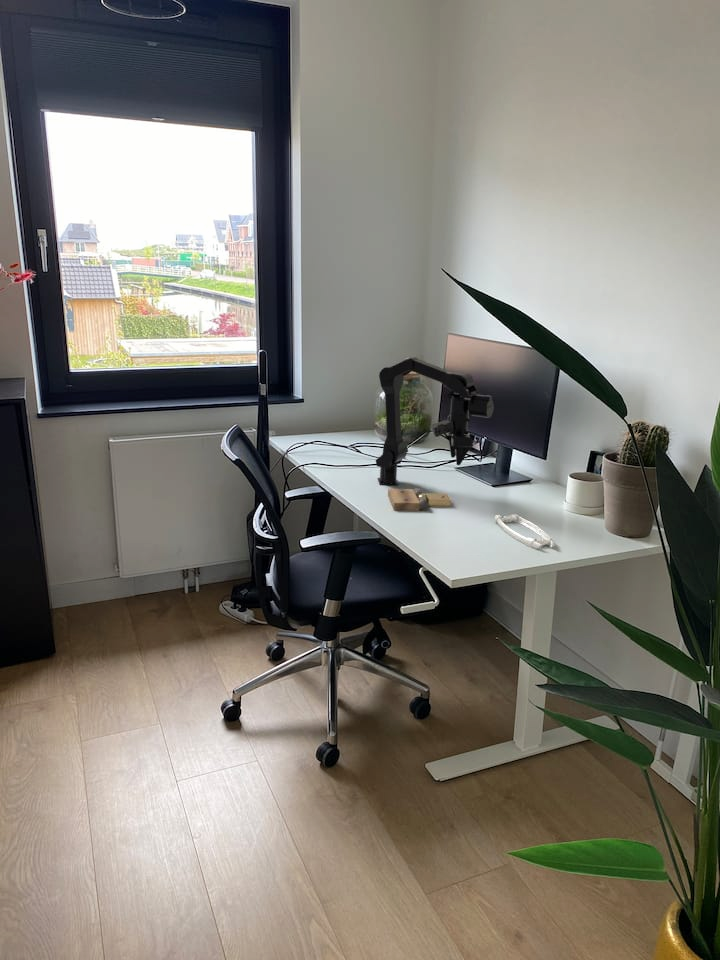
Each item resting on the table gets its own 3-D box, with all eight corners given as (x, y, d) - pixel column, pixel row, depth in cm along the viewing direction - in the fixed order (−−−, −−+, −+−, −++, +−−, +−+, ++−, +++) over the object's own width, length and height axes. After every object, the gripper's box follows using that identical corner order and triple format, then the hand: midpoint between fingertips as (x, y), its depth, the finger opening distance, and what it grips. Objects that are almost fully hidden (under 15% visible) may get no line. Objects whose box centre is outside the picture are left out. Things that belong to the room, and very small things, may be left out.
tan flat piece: (393, 510, 221) (394, 501, 220) (387, 495, 234) (388, 487, 233) (428, 510, 222) (429, 501, 221) (420, 496, 235) (421, 488, 234)
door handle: (530, 553, 194) (487, 521, 216) (562, 550, 197) (516, 519, 219) (531, 543, 193) (488, 512, 216) (563, 541, 196) (517, 510, 218)
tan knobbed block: (446, 500, 232) (446, 492, 231) (450, 507, 227) (450, 498, 226) (415, 500, 231) (416, 491, 230) (418, 506, 226) (419, 497, 225)
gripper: (429, 407, 237) (426, 453, 241) (439, 419, 219) (435, 468, 224) (463, 408, 238) (459, 454, 242) (475, 420, 220) (471, 469, 224)
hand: (455, 461), depth 233 cm, fingers open, 9 cm apart
